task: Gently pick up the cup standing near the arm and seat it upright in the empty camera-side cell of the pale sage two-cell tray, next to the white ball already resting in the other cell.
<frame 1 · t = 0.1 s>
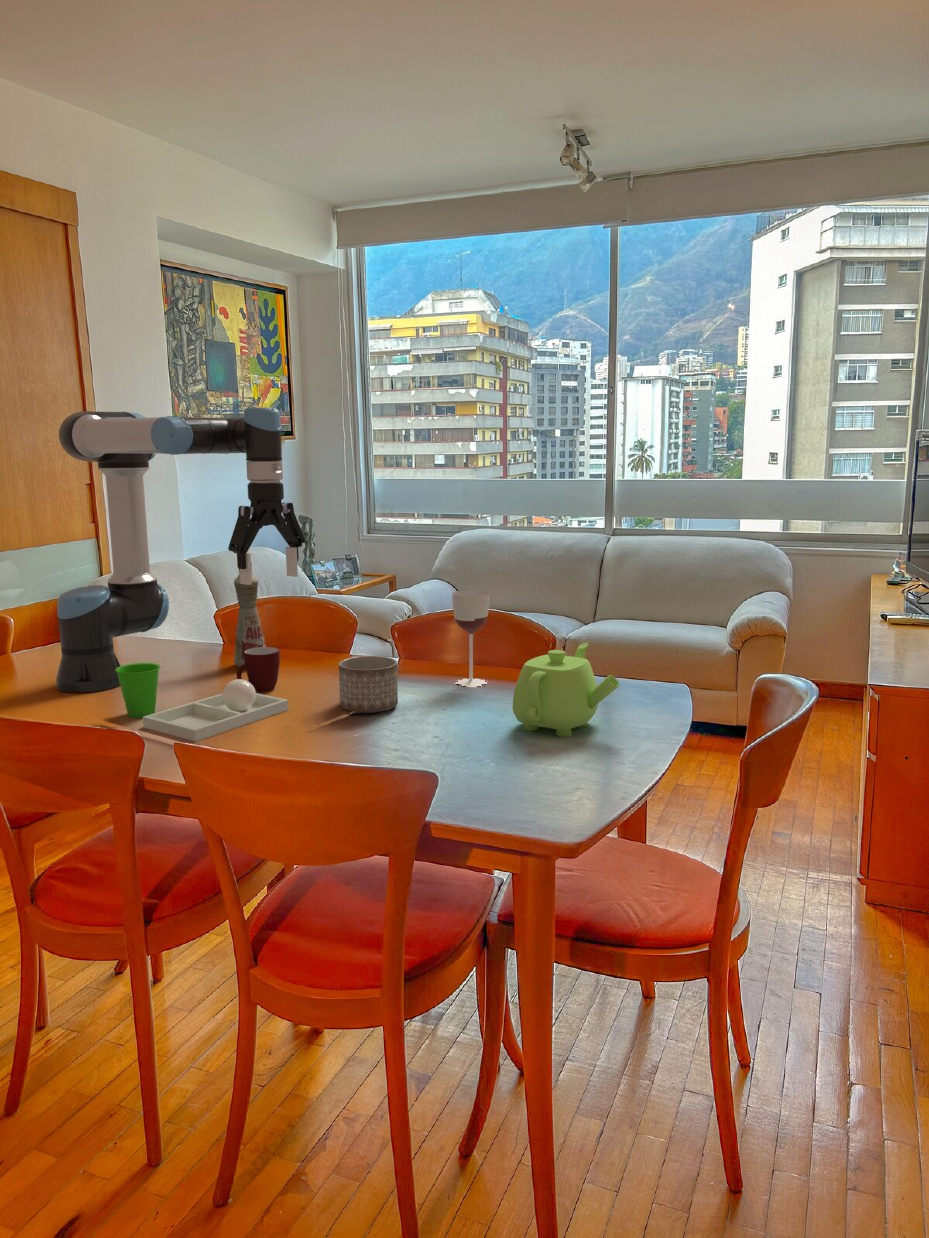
hand: (269, 580, 196), 28 cm above the table, fingers open, 13 cm apart
white ball: (240, 711, 193), point 1 cm above the table, touching tray
planter: (369, 709, 198), on the table
cup: (141, 718, 191), on the table
wineglass: (471, 683, 218), on the table
teapot: (571, 727, 185), on the table
bottle: (251, 666, 236), on the table
mug: (259, 694, 210), on the table
tray: (218, 721, 188), on the table
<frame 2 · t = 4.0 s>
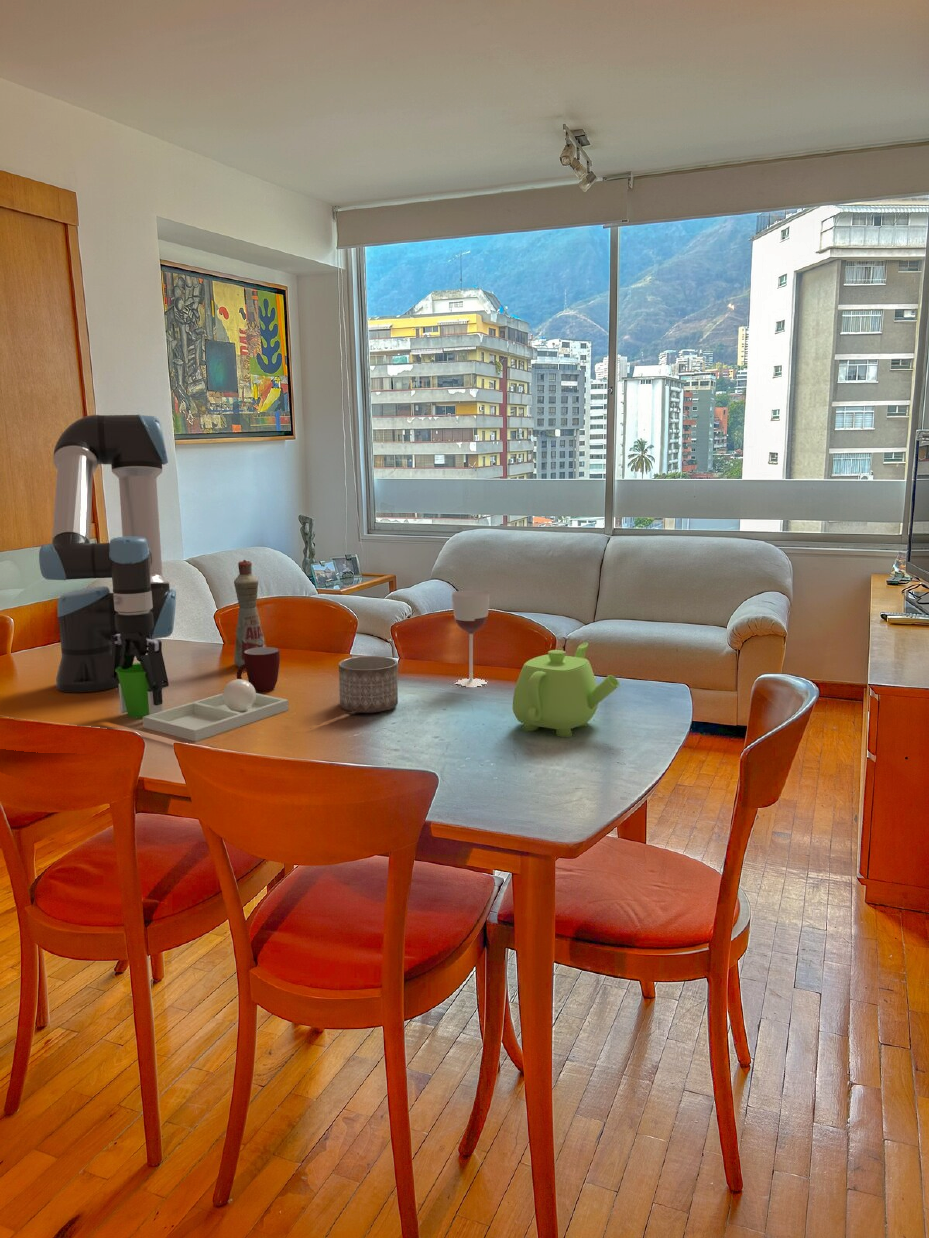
hand: (141, 715, 191), 0 cm above the table, fingers closed on cup, 9 cm apart
cup: (141, 718, 191), on the table, touching gripper
everything else where it was.
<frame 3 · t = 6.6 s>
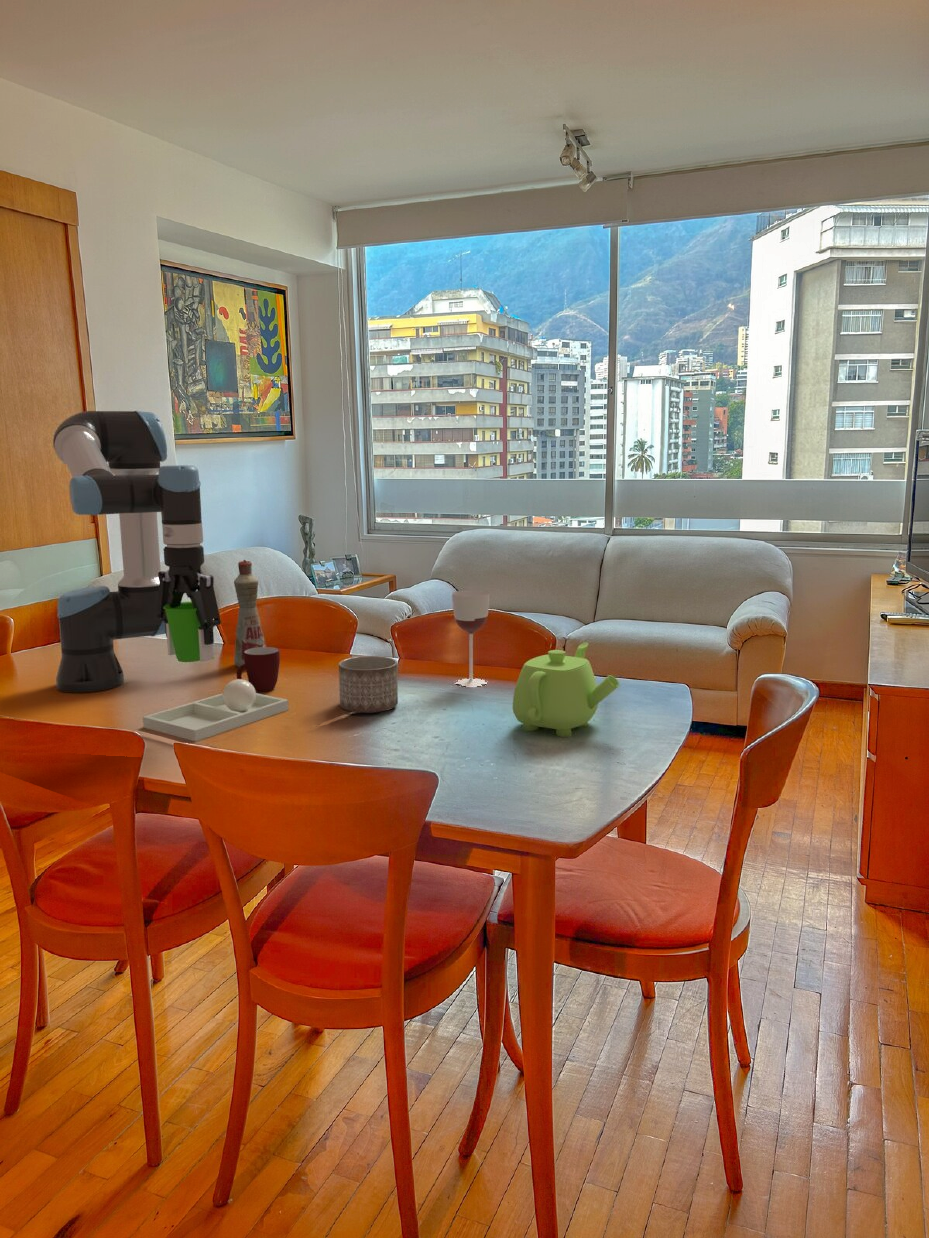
hand: (190, 656, 180), 15 cm above the table, fingers closed on cup, 9 cm apart
cup: (190, 660, 181), point 15 cm above the table, touching gripper
everything else where it was.
when the fingers open (3 cm above the table, at t = 9.6 s): cup drops 2 cm, resting on tray.
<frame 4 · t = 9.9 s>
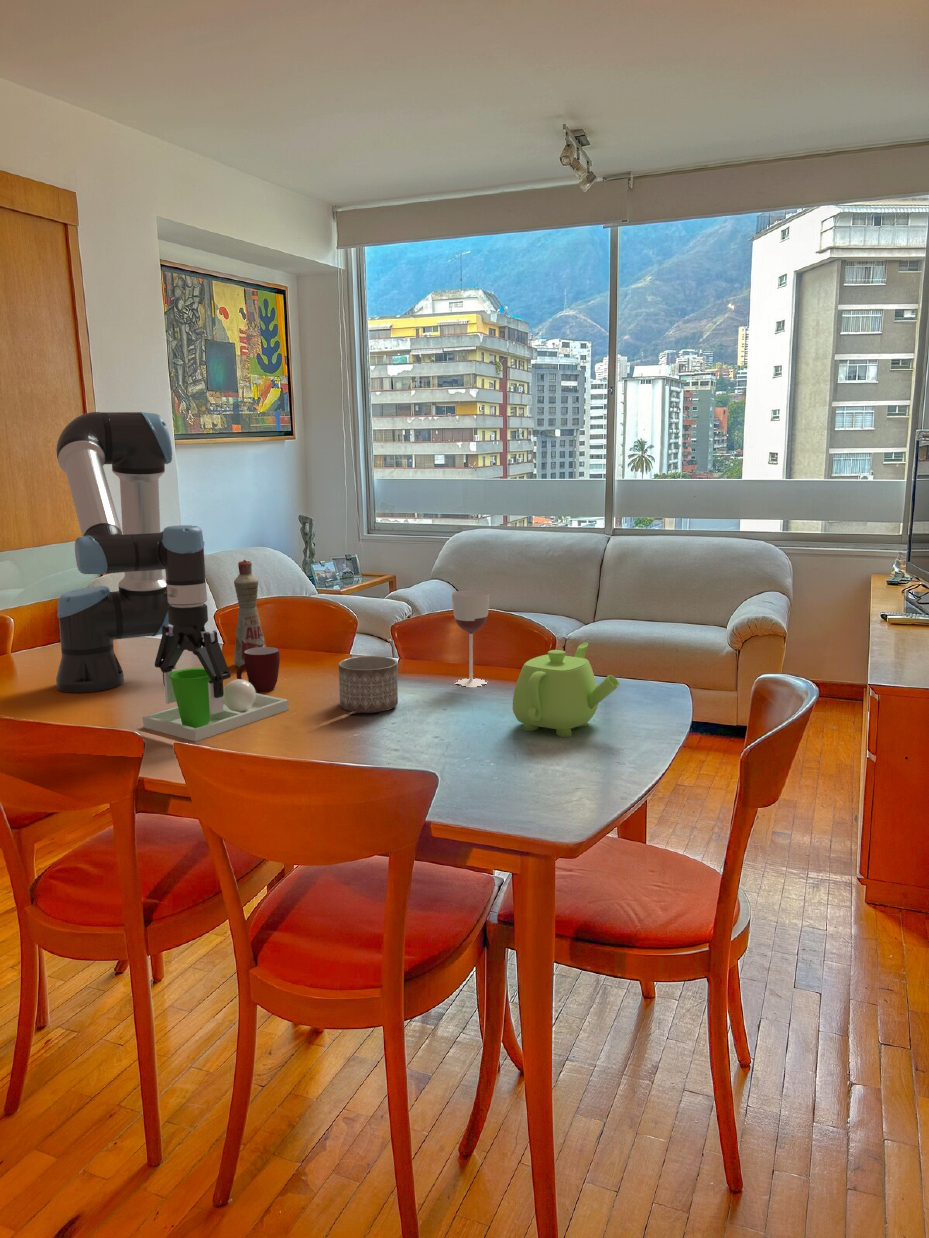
hand: (194, 707, 182), 5 cm above the table, fingers open, 13 cm apart
cup: (196, 726, 183), point 1 cm above the table, touching tray
everything else where it was.
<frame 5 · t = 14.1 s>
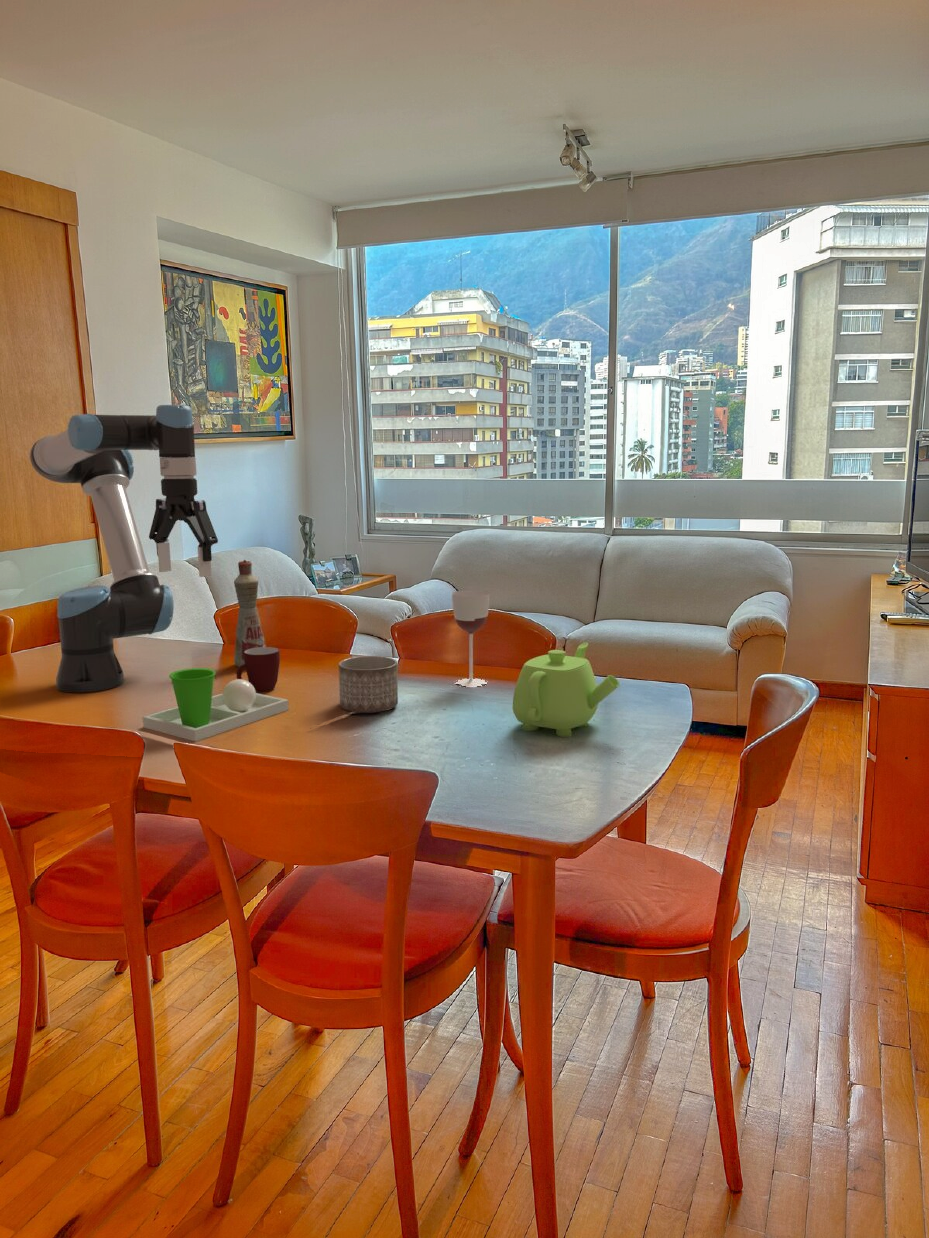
hand: (184, 573, 200), 29 cm above the table, fingers open, 13 cm apart
nothing on the table moved.
at the end: cup inside the target area on the tray (0.2 cm from its centre), point 0.6 cm above the tray's base; cup tilted 0°; the gripper is holding nothing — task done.
